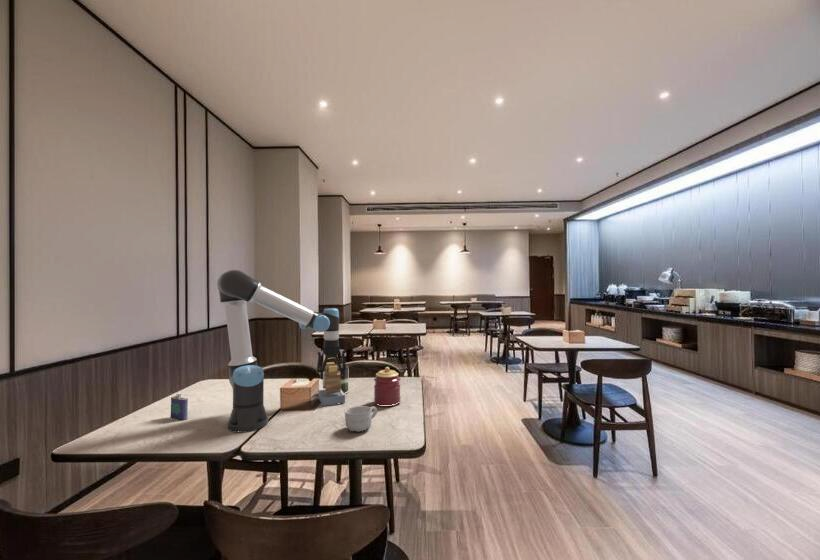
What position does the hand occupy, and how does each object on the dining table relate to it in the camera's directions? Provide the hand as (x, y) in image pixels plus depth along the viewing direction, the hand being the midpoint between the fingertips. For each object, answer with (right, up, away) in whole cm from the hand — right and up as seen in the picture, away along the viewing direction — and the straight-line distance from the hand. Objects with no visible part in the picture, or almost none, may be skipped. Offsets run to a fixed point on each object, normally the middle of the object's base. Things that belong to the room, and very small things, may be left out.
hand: (331, 384), depth 181 cm
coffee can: (+1, -8, +15) cm, 17 cm away
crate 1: (-1, +6, +4) cm, 7 cm away
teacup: (+20, -7, -36) cm, 42 cm away
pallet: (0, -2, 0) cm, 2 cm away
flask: (-62, -8, -24) cm, 67 cm away
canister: (+28, -8, -4) cm, 30 cm away
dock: (0, -8, 0) cm, 8 cm away
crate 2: (+1, +6, -4) cm, 7 cm away
